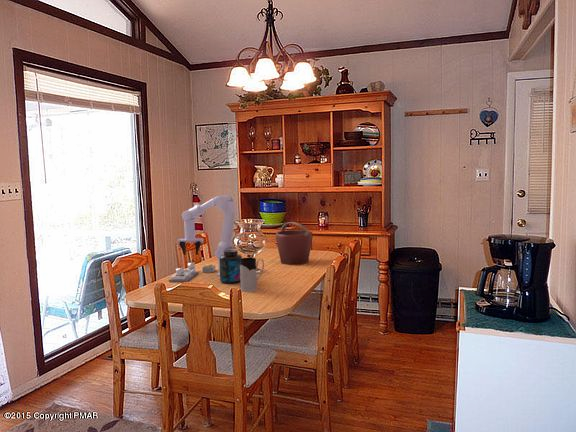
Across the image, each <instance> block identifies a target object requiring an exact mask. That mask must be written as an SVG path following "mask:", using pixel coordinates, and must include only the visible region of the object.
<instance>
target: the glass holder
mask: <svg viewBox="0 0 576 432" xmlns="http://www.w3.org/2000/svg"><path fill="white" fill-rule="evenodd" d="M260 261H261V262H262V268H261V271H260V274H259V275H258V274H257V269H258V266H259V262H260ZM264 267H265V262H264V260H263V259H262V258H259V259H258V260H257V259H256V257H242V259H240V278H241V282H240V289H241V290H242V291H241V292H243V293H249V292H250V293H253V292H256V291H258V290H259V287H258V281H259V279H260V277H261V276H262V275H263V272H264V269H265V268H264Z"/></svg>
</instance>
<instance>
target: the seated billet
mask: <svg viewBox="0 0 576 432" xmlns="http://www.w3.org/2000/svg"><path fill="white" fill-rule="evenodd" d="M184 270H185V267H177V268H175V274H176V276H184Z"/></svg>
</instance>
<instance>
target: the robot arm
mask: <svg viewBox="0 0 576 432" xmlns="http://www.w3.org/2000/svg"><path fill="white" fill-rule="evenodd" d="M234 202H235V199H234V198H233V197H232V196H231V195H230V194H224V195H218V196H215V197H212V198H210V199H209V200H208V201H206V202H204V203H203V204H198V203H197V204H195V205H194V206H193V207H190V208H188V210H184V211H183V212H182V213H181V218H182V220H183V224H184V238H177V241H176V242H177V243H179V244H178V245H179V247H180V248H181V251H182V254H183V256H186V255H187V251H186V250H187V249H186V245H187V243H194V247H195V255H196V256H198V255H199V250H200V247H201V245H202V243H203V242H204V238H196V229H195V228H196V227H195V224H196V223H195V222H196V218H198V217H200V216H201V215H203V214H205V212H206V210H208V209H210V208H212V207H217V208H218V209H219V210H220V211H222V212H223V214H224V217H223V225H222V231H221V238H220V242H219V243H218V245H217V248H216V250H215V252H214V253H215V257H216V258H217V261H218V272H217V273H216V274H215V275H218V276H219V277H220V266H219V257H220V256H221V255H223V251H224V250H234V244H233V243H232V237H233V231H234V225H235V223H234V222H235V216H236V208H235V204H234Z"/></svg>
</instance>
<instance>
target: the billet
mask: <svg viewBox="0 0 576 432" xmlns="http://www.w3.org/2000/svg"><path fill="white" fill-rule="evenodd" d="M187 270H194V271H196V264H195V262H188V263H187Z"/></svg>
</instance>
